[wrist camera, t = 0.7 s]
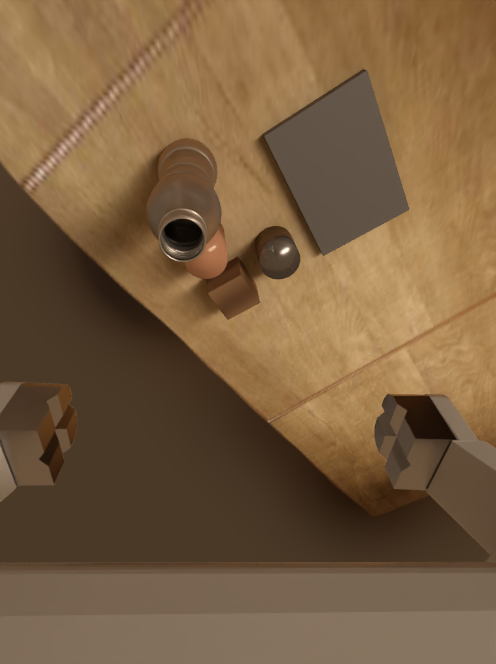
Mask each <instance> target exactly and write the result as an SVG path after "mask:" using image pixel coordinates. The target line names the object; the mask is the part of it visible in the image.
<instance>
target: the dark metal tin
mask: <svg viewBox="0 0 496 664" xmlns="http://www.w3.org/2000/svg"><path fill="white" fill-rule="evenodd" d="M255 247H256V251H257V255H258V259H259V263H260V267H261V269H262V271H263V273H264V274H265V275H266V276H268V277H270V278H273V279H284V278H287V277H289V276H291V275H292V274H293V273H294V272H295V271H296V270H297V268H298V267H299V264H300V254H299V252H298V250H297V247H296V245H295V243H294V241H293V239H292V236H291V234H290V233H289V232H288V231H287V230H286V229H285V228H283V227H280V226H272V227H268V228H266V229H264V230H263V231H262V232H261V233H260V234H259V235H258V237H257V239H256V243H255Z"/></svg>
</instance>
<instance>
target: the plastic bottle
mask: <svg viewBox="0 0 496 664" xmlns="http://www.w3.org/2000/svg"><path fill="white" fill-rule="evenodd" d="M158 178H159V182H158V183H157V184H156V186H155V187H154V189H153V190H152V192H151V194H150V196H149V199H148V201H147V207H146V216H147V220H148V224H149V226H150V229H151V231H152V233H153V234H154V236H155V237H156V239H157V240H158V241H159V245H160V248H161V250H162V251H163V253H164V254H165V255H166V256H167V257H168V258H170V259H171V260H174V261H177V262H190V261H193V260H195V259H196V258H198V257H199V256H200V255H201V254H202V253H203V251H204V249H205V246H206V244H207V243H208V242H210V240H211V239H212V238H213V237H214V235H215V234H216V232H217V230H218V228H219V225H220V222H221V214H222V213H221V205H220V202H219V199H218V196H217V194H216V192H215V190H214V186H215V183H216V179H217V165H216V161H215V158H214V156H213V154H212V153H211V152H210V150H209V149H208V148H207V147H206V146H205V145H204V144H203V143H201V142H199V141H197V140H194V139H189V138H184V139H179V140H176V141H174V142H173V143H171V144H170V145H168V146H167V147H166V148H165V149H164V151H163V152H162V154H161V156H160V158H159V162H158Z"/></svg>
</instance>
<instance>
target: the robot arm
mask: <svg viewBox="0 0 496 664" xmlns="http://www.w3.org/2000/svg"><path fill="white" fill-rule="evenodd" d="M71 398H72V395H71V390H70V387H69V386H68V385H66V384H47V383H28V382H27V383H26V382H25V383H20V382H19V383H18V382H3V383H1V384H0V502H1V501H2V500H3V499H4V498H5V497H6V496H8V495H9V494H10V493H11V492H12V491H13V490H14V489H16V485H54V484H55V481H56V479H57V477H58V475H59V472H60V470H61V468H62V466H63V463H64V458H63V454H62V453H63V452H65V451H66V450H68V449H69V448H70V447H71V445H72V443H73V441H74V438H75V434H76V428H77V416H76V411H75V409H74V408H72V407H71V406H70V405H69V402H70V400H71ZM382 407H383V409H384V411H385V412H384V413H383V414H381V415H380V416H379V417H377V421H376V424H375V442H376V446H377V448H378V451H379V453H380V454H381V455H383V456H384V457H385V458H386V459H387V462H386V465H385V468H386V471H387V473H388V476H389V478H390V481H391V483H392V485H393V488H394V489H408V490H427V493H428V494H429V495H430V496H431V497H432V498H433V499H434V500H435V501H436V502H437V503H438V504H439V505H440V506H441V507H443V509H444V510H446V512H447V513H448V514H449V515H451V517H452V518H453V519H454V520H455V521H457V523H458V524H460V525H461V526H462V527H463V528H464V529H465V530H466V531H467V532H468V533H469V534H470V535H471V536H472V537H473V538H474V539H475V540H476V541H477V542H478V543H479V544H480V545H481V546H482V547H483V548H484V549H485V550H486V551H487V552H488V553H489V554H490V555H489V556H488V558H487V559H486V560H485V562H321V563H320V562H318V563H317V562H311V563H309V562H307V563H306V562H305V563H304V562H302V563H301V562H299V563H297V562H296V563H295V562H291V563H290V562H288V563H0V664H496V448H495V447H493V446H492V445H490V444H489V443H487V442H485V441H479V440H478V439H477V437H476V436H475V435H474V433H473V432H472V430H471V429H470V427H469V426H468V425H467V423H466V422H465V420H464V419H463V417H462V416H461V415H460V413H459V412H458V410H457V409H456V407H455V406H454V405H453V403H452V402H451V400H450V399H449V398H448V397H447V396H445V395H437V394H425V395H414V394H387V395H386V397H385V398H384V400H383V403H382Z"/></svg>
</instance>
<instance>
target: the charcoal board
mask: <svg viewBox="0 0 496 664" xmlns="http://www.w3.org/2000/svg"><path fill="white" fill-rule="evenodd" d="M263 136H264V138H265V140H266V142H267V144H268V146H269V148H270V150H271V152H272V154H273V156H274V158H275V160H276V162H277V164H278V166H279V168H280V170H281V172H282V174H283V176H284V178H285V180H286V182H287V184H288V186H289V188H290V190H291V192H292V194H293V196H294V198H295V200H296V202H297V204H298V206H299V208H300V210H301V212H302V214H303V216H304V218H305V220H306V222H307V224H308V226H309V228H310V230H311V232H312V234H313V236H314V238H315V240H316V242H317V244H318V246H319V248H320V250H321V252H322V254H323V256H324V255H326V254H328V253H330V252H332V251H333V250H335V249H337V248H339V247H341V246H343V245H345V244H346V243H348V242H350V241H352V240H354V239H356V238H358V237H359V236H361V235H363V234H365V233H367V232H369V231H371V230H372V229H374V228H376V227H378V226H380V225H382V224H384V223H385V222H387V221H389V220H391V219H393V218H395V217H397V216H398V215H400V214H402V213H404V212H406V211H408V210H409V207H408V203H407V200H406V197H405V193H404V190H403V187H402V184H401V180H400V177H399V174H398V170H397V167H396V164H395V160H394V157H393V154H392V151H391V147H390V144H389V141H388V137H387V134H386V131H385V127H384V124H383V121H382V118H381V114H380V111H379V108H378V104H377V101H376V98H375V94H374V91H373V88H372V85H371V81H370V78H369V75H368V71H367V70H364V69H363V70H361V71H360V72H358V73H357V74H355V75H354V76H352V77H351V78H349V79H347V80H346V81H344V82H343V83H341V84H340V85H338V86H337V87H335V88H333V89H332V90H330V91H329V92H327V93H326V94H324V95H323V96H321V97H319V98H318V99H316V100H315V101H313V102H312V103H310V104H309V105H307V106H306V107H304V108H302V109H301V110H299V111H298V112H296V113H295V114H293V115H292V116H290V117H288V118H287V119H285V120H284V121H282V122H281V123H279V124H278V125H276V126H275V127H273V128H271V129H270V130H268V131H267V132H265V133H264V134H263Z"/></svg>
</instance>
